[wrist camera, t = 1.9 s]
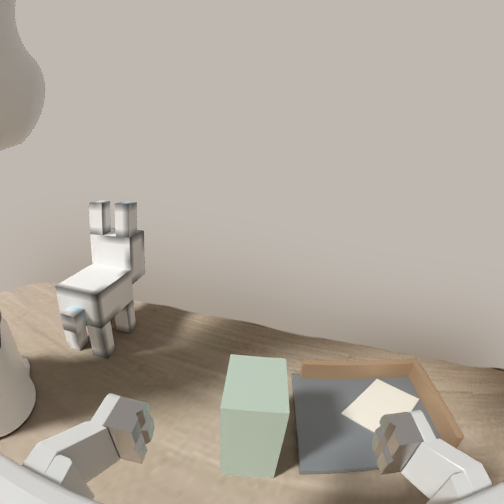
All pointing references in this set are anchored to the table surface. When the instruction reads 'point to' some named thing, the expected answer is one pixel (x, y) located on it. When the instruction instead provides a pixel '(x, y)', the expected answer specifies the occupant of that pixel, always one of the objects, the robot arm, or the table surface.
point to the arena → (359, 410)
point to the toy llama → (104, 280)
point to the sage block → (253, 416)
